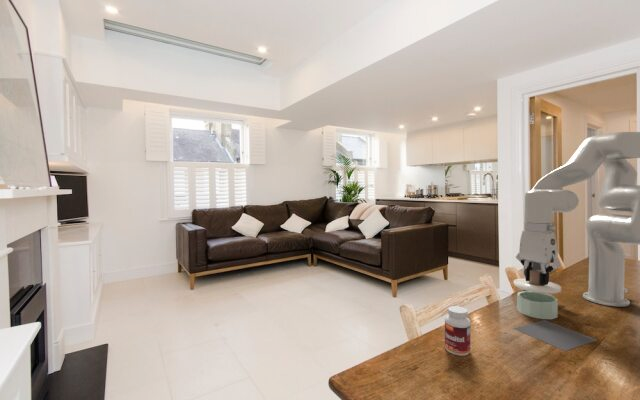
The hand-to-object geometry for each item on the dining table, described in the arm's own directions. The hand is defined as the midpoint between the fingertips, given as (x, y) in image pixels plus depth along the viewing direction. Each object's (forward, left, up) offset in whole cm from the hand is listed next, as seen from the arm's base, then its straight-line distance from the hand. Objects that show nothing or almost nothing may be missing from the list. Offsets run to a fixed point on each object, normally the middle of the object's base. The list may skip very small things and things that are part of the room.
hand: (536, 282), depth 104 cm
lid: (0, 0, -2) cm, 2 cm away
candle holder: (-13, -10, -11) cm, 20 cm away
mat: (+11, +12, -10) cm, 19 cm away
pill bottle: (+42, +7, -11) cm, 44 cm away
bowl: (0, 0, -10) cm, 10 cm away
